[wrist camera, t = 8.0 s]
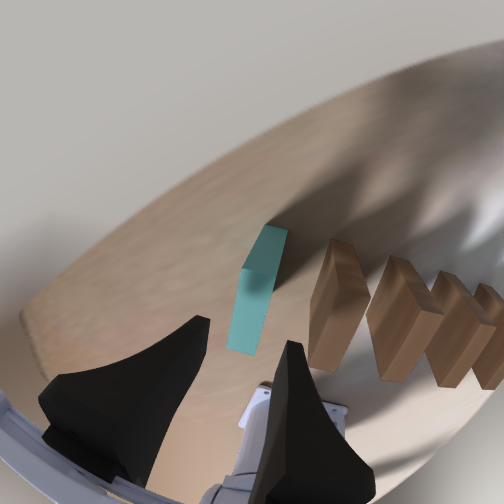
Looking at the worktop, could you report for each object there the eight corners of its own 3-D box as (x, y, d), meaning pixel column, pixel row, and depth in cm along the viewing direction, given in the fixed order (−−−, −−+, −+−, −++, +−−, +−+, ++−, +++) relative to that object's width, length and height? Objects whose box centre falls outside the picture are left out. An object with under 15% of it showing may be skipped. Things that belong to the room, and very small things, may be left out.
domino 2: (352, 245, 19) (370, 297, 13) (330, 306, 21) (334, 372, 15) (330, 239, 19) (339, 289, 13) (310, 301, 21) (307, 366, 15)
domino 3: (409, 261, 18) (445, 315, 12) (383, 318, 20) (402, 383, 14) (390, 255, 19) (421, 310, 12) (365, 314, 21) (380, 380, 14)
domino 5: (491, 287, 18) (532, 335, 11) (465, 335, 20) (494, 389, 13) (479, 283, 18) (521, 332, 11) (453, 333, 20) (482, 389, 13)
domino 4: (455, 275, 18) (497, 327, 12) (428, 328, 20) (455, 388, 14) (440, 270, 18) (480, 323, 12) (413, 325, 20) (438, 386, 14)
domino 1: (288, 230, 19) (276, 277, 13) (271, 293, 21) (254, 356, 15) (264, 224, 20) (241, 267, 13) (250, 287, 22) (225, 348, 15)
